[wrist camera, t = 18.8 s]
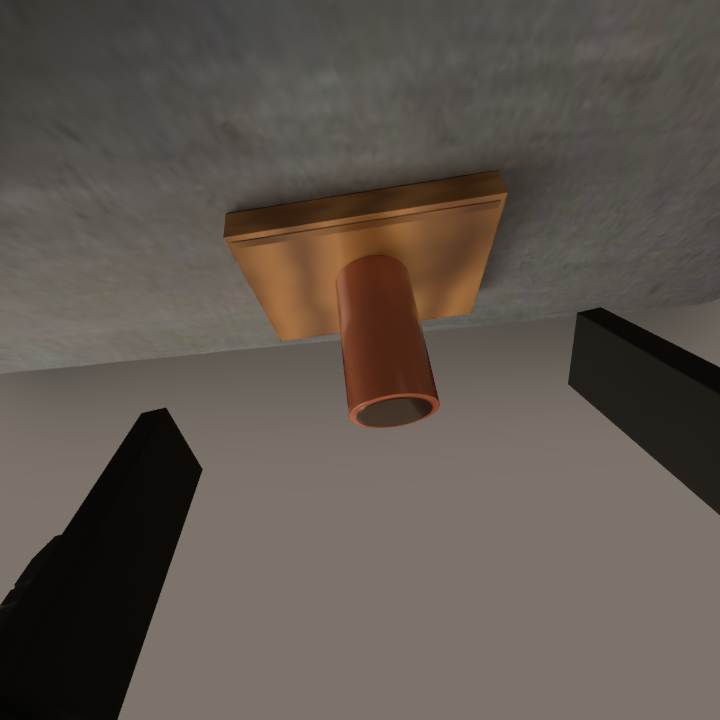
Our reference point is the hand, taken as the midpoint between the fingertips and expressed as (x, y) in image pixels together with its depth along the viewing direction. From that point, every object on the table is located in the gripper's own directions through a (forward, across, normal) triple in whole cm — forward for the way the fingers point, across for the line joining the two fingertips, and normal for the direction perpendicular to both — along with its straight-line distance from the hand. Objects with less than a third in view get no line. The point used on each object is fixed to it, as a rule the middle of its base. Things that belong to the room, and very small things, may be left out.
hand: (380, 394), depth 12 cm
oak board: (+23, +3, -2) cm, 23 cm away
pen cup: (+20, +2, -3) cm, 21 cm away
